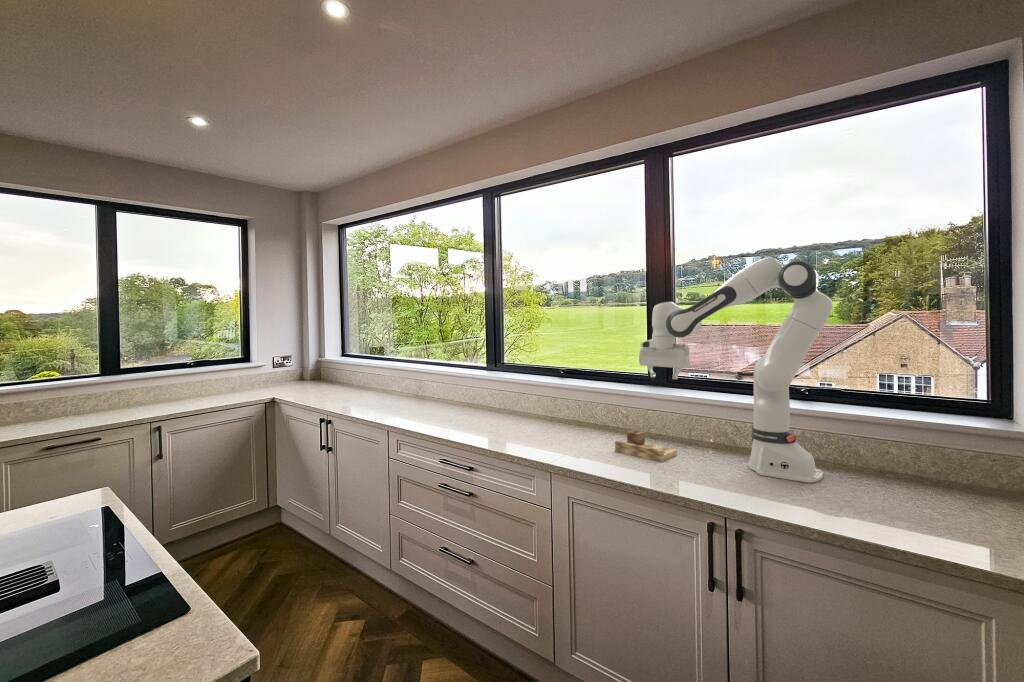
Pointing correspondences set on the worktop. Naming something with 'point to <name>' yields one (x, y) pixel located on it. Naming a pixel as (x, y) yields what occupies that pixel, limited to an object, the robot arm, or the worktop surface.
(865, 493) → the worktop surface
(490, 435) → the worktop surface
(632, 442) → the brown wooden block
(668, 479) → the worktop surface
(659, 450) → the board
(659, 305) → the robot arm
